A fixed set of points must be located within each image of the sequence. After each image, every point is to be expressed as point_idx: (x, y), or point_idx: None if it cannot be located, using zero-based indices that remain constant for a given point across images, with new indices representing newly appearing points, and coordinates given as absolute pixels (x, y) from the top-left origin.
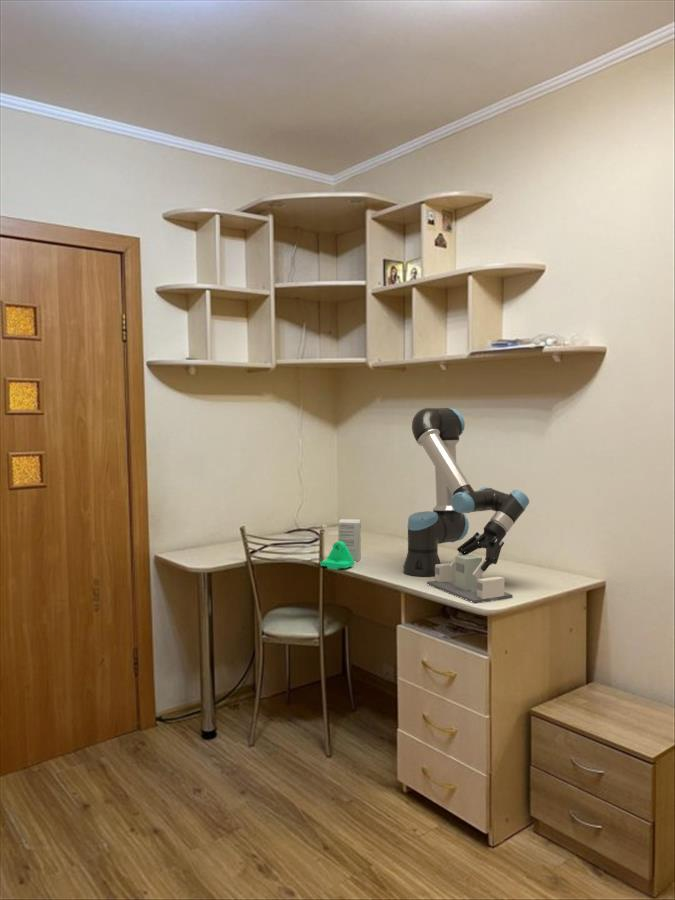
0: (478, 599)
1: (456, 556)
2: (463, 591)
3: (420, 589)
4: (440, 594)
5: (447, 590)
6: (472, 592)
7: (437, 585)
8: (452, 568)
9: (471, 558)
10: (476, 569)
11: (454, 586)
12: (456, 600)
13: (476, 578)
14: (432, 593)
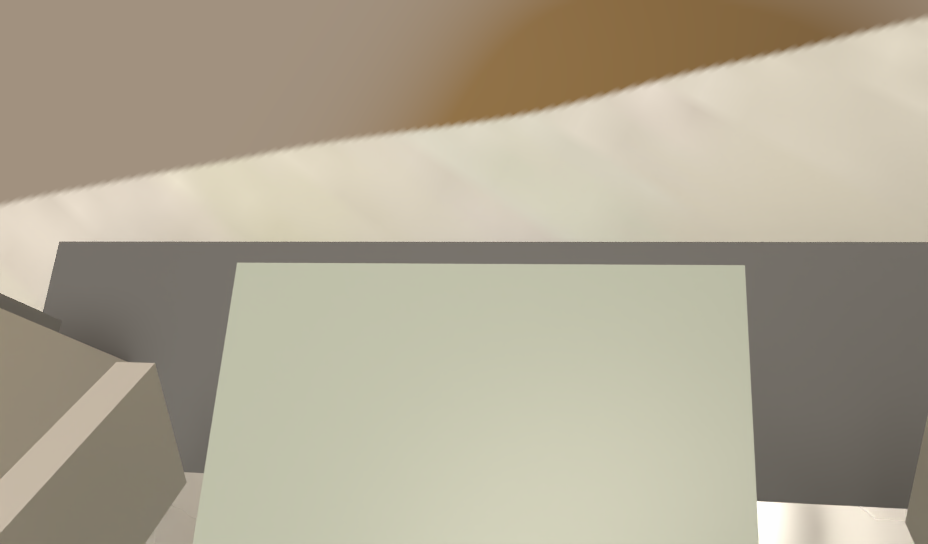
0: (52, 307)
1: (696, 274)
2: None
3: (884, 52)
4: (562, 140)
5: (593, 246)
6: None
7: (866, 253)
8: (921, 450)
9: (233, 498)
10: (71, 434)
11: None
12: (269, 159)
13: (181, 471)
14: (645, 84)
